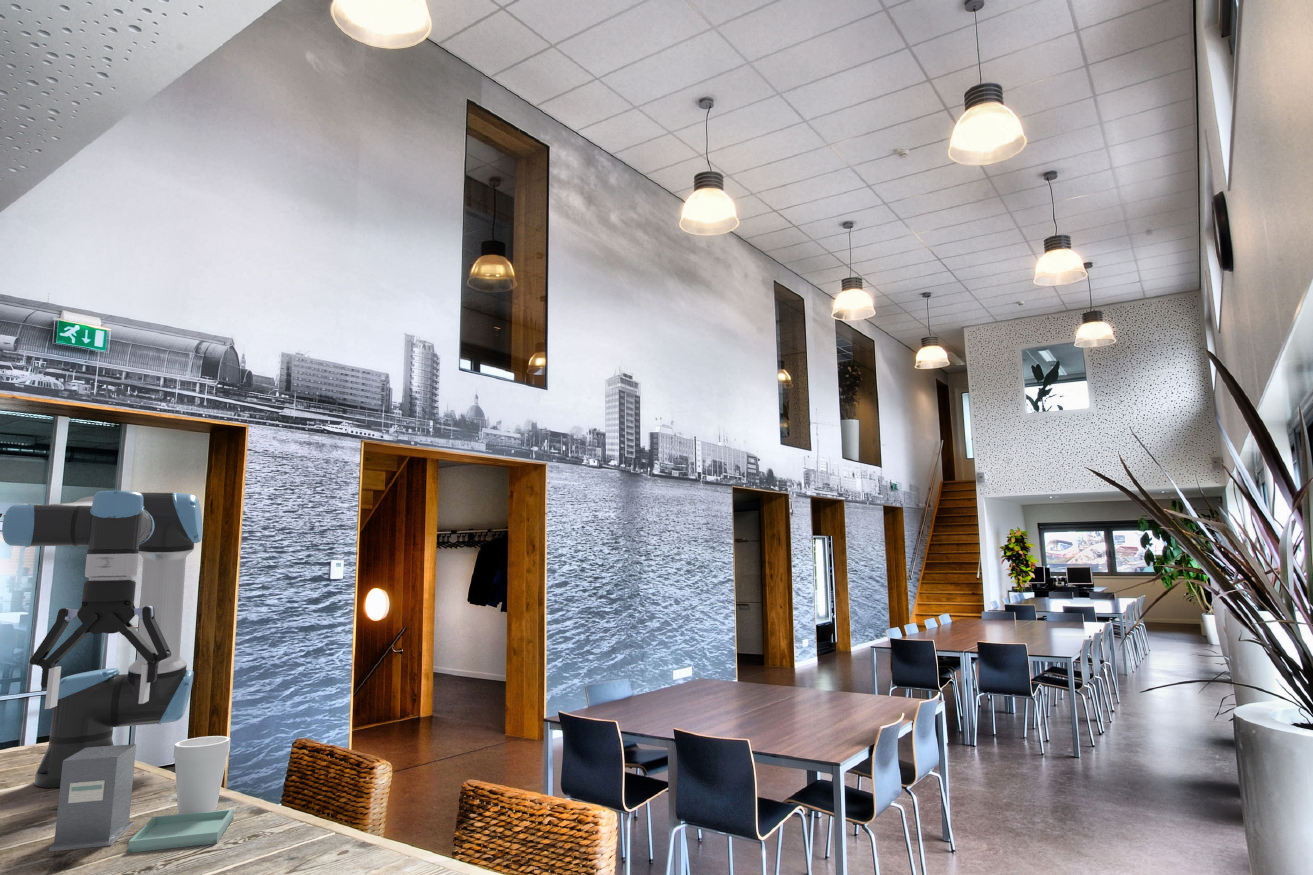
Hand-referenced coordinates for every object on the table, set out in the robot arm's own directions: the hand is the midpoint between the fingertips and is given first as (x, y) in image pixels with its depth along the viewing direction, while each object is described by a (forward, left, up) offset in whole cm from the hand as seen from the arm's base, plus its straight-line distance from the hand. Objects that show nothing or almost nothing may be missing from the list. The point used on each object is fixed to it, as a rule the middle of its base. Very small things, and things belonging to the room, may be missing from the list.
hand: (97, 705), depth 132 cm
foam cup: (-18, +13, -24) cm, 33 cm away
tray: (-4, +14, -24) cm, 28 cm away
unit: (-8, -1, -24) cm, 25 cm away
